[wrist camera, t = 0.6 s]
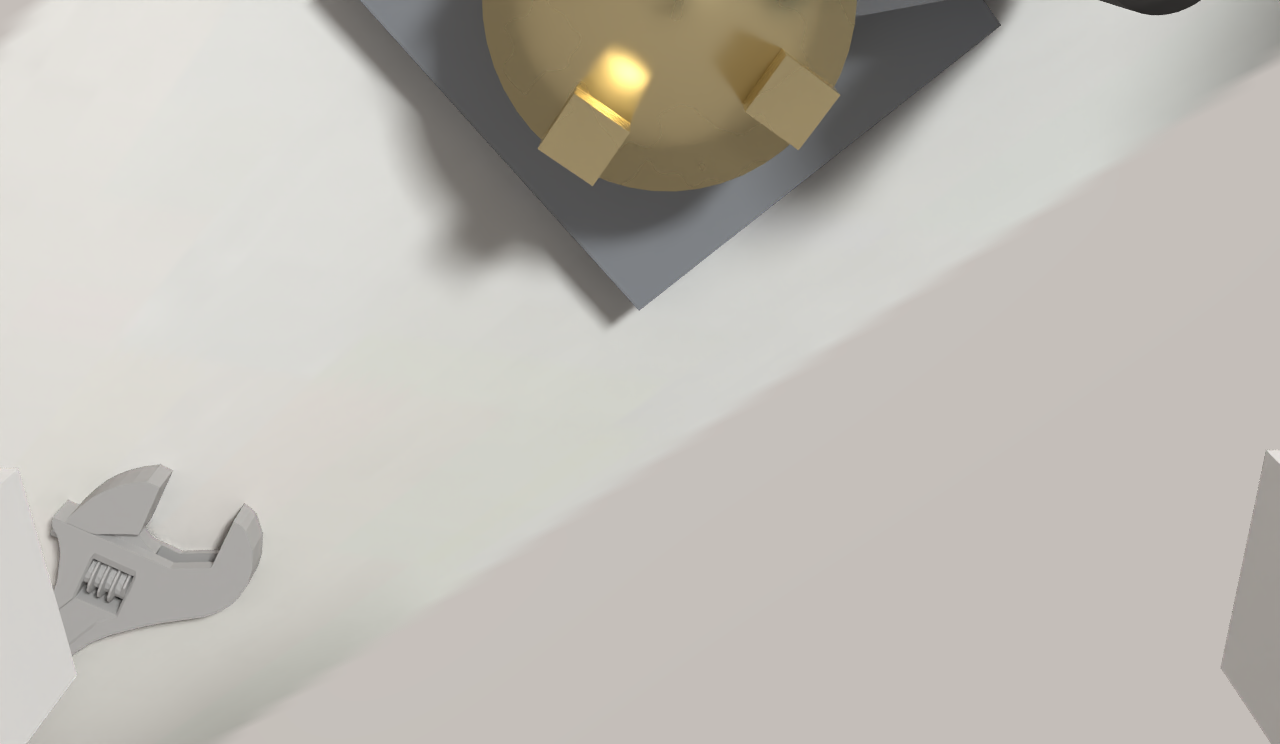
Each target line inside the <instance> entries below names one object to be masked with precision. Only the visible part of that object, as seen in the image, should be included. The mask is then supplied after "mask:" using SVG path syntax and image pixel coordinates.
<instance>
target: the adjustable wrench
mask: <svg viewBox="0 0 1280 744" xmlns="http://www.w3.org/2000/svg"><path fill="white" fill-rule="evenodd" d="M172 471H173V470H171V469H169V468H167V467H165V466H163V465H161V464H160V465H152V466H144V467H140V468H136V469H131V470H129V471H126V472H123V473H120V474H118V475H116V476H114V477H112V478H110V479H108V480H107V481H106V482H104V483H103V484H102V485H100V486H99V487H98V488H96V489H95V490H94V491H93V492H92V493H91V494H90V495H89V496H88V497H87V498H86V499H85V500H84V501H83V502H82V503H81V504H80V505H79V504H77V503H74V502H72V501H70V500H67V501H66V503H65V504H64V505H63V506H62V507H61V508H60V509H59V510H58V512H57V513H56V514H55V515H54V516H53V518H52V527H53V528H52V530H51V533H50V535H52V536H54V537H56V538H58V542H59V547H60V560H59V568H58V577H57V582H56V585H55V588H54V594H55V598H56V601H57V605H58V608H59V612H60V615H61V619H62V622H63V626H64V629H65V633H66V636H67V640H68V644H69V647H70V651H71V654H72V655H73V654H75V653H76V652H77V651H79V650H80V649H82V648H84V647H85V646H87V645H89V644H90V643H92V642H94V641H97V640H99V639H102V638H105V637H107V636H110V635H113V634H117V633H121V632H125V631H129V630H133V629H136V628H140V627H145V626H150V625H155V624H160V623H167V622H174V621H181V620H187V619H194V618H201V617H206V616H209V615H212V614H215V613H217V612H219V611H221V610H223V609H225V608H227V607H228V606H230V605H231V604H233V603H234V602H235V601H236V600H237V599H238V598H239V597H240V595H241V594H242V592H243V591H244V589H245V588H246V586H247V585H248V583H249V582H250V580H251V578H252V576H253V574H254V572H255V571H256V569H257V567H258V564H259V561H260V558H261V554H262V540H263V532H262V529H261V526H260V523H259V520H258V517H257V514H256V512H255V511H254V510H253V509H252V508H251V507H249V506H248V505H246V504H244V505H243V507H242V508H241V510H240V512H239V513H238V515H237V517H236V518H235V520H234V521H233V524H232V526H231V528H230V530H229V532H228V534H227V536H226V538H225V540H224V542H223V544H222V546H221V548H220V550H192V551H182V550H180V549H177V548H175V547H173V546H171V545H169V544H167V543H165V542H163V541H160V540H158V539H156V538H154V537H153V536H152V535H151V534H150V532H149V531H148V529H147V528H146V527H145V526H146V525H147V523H148V522H149V521H150V519H151V518H152V516H153V514H154V512H155V509H156V507H157V505H158V503H159V500H160V498H161V496H162V494H163V491H164V489H165V487H166V485H167V483H168V480H169V478H170V476H171V474H172Z"/></svg>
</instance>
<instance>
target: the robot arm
mask: <svg viewBox="0 0 1280 744" xmlns="http://www.w3.org/2000/svg"><path fill="white" fill-rule="evenodd" d="M1221 669H1222V671H1223V672H1224V674H1225V675H1226V676H1227V678H1228V679H1229V681H1230V683H1231V684H1232V686H1233V687H1234V689H1235V690H1236V691H1237V693H1238V695H1239V696H1240V698H1241V699H1242V701H1243V702H1244V704H1245V705H1246V706H1247V708H1248V710H1249V711H1250V713H1251V714H1252V716H1253V717H1254V719H1255V720H1256V722H1257V723H1258V725H1259V726H1260V728H1261V729H1262V731H1263V732H1264V734H1265V735H1266V737H1267V738H1268V740H1269V741H1270V743H1271V744H1280V450H1266V453H1265V457H1264V462H1263V467H1262V472H1261V477H1260V481H1259V487H1258V491H1257V496H1256V501H1255V505H1254V510H1253V515H1252V520H1251V524H1250V529H1249V534H1248V539H1247V544H1246V548H1245V553H1244V559H1243V563H1242V568H1241V573H1240V577H1239V582H1238V587H1237V592H1236V597H1235V602H1234V607H1233V611H1232V616H1231V620H1230V625H1229V630H1228V635H1227V640H1226V645H1225V649H1224V654H1223V659H1222V664H1221ZM76 676H77V672H76V668H75V665H74V661H73V658H72V654H71V651H70V647H69V644H68V640H67V636H66V633H65V629H64V626H63V622H62V619H61V615H60V612H59V608H58V605H57V601H56V598H55V594H54V591H53V587H52V584H51V580H50V577H49V573H48V570H47V566H46V563H45V559H44V556H43V552H42V549H41V545H40V541H39V538H38V534H37V531H36V527H35V524H34V520H33V517H32V513H31V510H30V506H29V503H28V499H27V496H26V492H25V489H24V485H23V482H22V478H21V475H20V471H19V468H0V744H27V742H28V741H29V740H30V738H31V737H32V736H33V734H34V733H35V732H36V730H37V729H38V728H39V726H40V725H41V723H42V722H43V721H44V719H45V718H46V717H47V715H48V714H49V713H50V711H51V710H52V709H53V707H54V706H55V705H56V703H57V702H58V700H59V699H60V698H61V696H62V695H63V694H64V692H65V691H66V690H67V688H68V687H69V686H70V684H71V683H72V681H73V680H74V679H75V677H76Z"/></svg>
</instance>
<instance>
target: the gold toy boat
mask: <svg viewBox="0 0 1280 744" xmlns="http://www.w3.org/2000/svg"><path fill="white" fill-rule="evenodd" d="M939 1H944V0H482V9H483V22H484V28H485V34H486V41H487V45H488V48H489V52H490V55H491V59H492V62H493V65H494V68H495V70H496V73H497V75H498V77H499V80H500V82H501V84H502V86H503V89H504V91H505V92H506V94H507V96H508V97H509V99H510V101H511V102H512V104H513V106H514V107H515V109H516V111H517V112H518V113H519V115H520V116H521V117H522V118H523V120H524V121H525V122H526V124H527V125H528V126H529V127H530V129H531V130H532V131H533V132H534V133H535V134H536V135H537V136H538V137H539V138H540V139H541V141H540V144H539V146H538V150H540V151H541V152H543V153H544V154H546V155H547V156H549V157H550V158H552V159H553V160H554V161H556V162H557V163H559V164H560V165H562V166H563V167H565V168H566V169H568V170H569V171H571V172H572V173H574V174H575V175H577V176H578V177H580V178H581V179H583V180H584V181H586V182H587V183H589V184H590V185H591V186H593V185H594V184H595V182H596V181H597V180H598V178H601V179H603V180H606V181H608V182H612V183H615V184H619V185H623V186H626V187H630V188H636V189H643V190H649V191H684V190H693V189H700V188H704V187H709V186H713V185H717V184H721V183H724V182H726V181H729V180H732V179H734V178H737V177H740V176H742V175H744V174H746V173H748V172H750V171H752V170H754V169H756V168H757V167H759V166H761V165H763V164H765V163H766V162H767V161H769V160H770V159H772V158H773V157H775V156H776V155H777V154H779V153H780V152H782V151H783V150H784V149H785V148H786V147H787V146H789V145H792V146H793V147H795V148H796V149H797V150H799V149H800V148H801V147H802V145H803V144H804V143H805V141H806V140H807V139H808V137H809V136H810V135H811V133H812V132H813V131H814V129H815V128H816V127H817V126H818V124H819V123H820V122H821V120H822V119H823V118H824V116H825V115H826V114H827V112H828V111H829V110H830V108H831V107H832V106H833V104H834V103H835V102H836V100H837V99H838V98H839V96H840V94H839V93H838V91H837V90H836V89H835V88H834V86H835V84H836V82H837V80H838V78H839V76H840V74H841V72H842V69H843V66H844V63H845V61H846V58H847V55H848V52H849V49H850V44H851V40H852V35H853V30H854V26H855V17H856V16H862V15H867V14H873V13H878V12H884V11H889V10H895V9H900V8H906V7H911V6H917V5H922V4H928V3H933V2H939ZM1100 1H1103V2H1106V3H1110V4H1113V5H1116V6H1119V7H1123V8H1126V9H1129V10H1132V11H1136V12H1139V13H1142V14H1148V15H1165V14H1171V13H1175V12H1179V11H1181V10H1184V9H1186V8H1188V7H1190V6H1192V5H1194V4H1196V3H1197V2H1199V1H1200V0H1100Z"/></svg>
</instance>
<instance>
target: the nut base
mask: <svg viewBox="0 0 1280 744" xmlns="http://www.w3.org/2000/svg"><path fill="white" fill-rule="evenodd" d="M360 1H361V2H362V3H363V4H364V5H365V6H366V8H367V9H368V10H369V11H370V12H371V13H372V14H373V15H374V17H375V18H376V19H377V20H378V21H379V22H380V23H381V24H382V25H383V27H384V28H385V29H386V30H387V31H388V32H389V33H390V34H391V35H392V37H393V38H394V39H395V40H396V41H397V42H398V43H399V44H400V45H401V47H402V48H403V49H404V50H405V51H406V52H407V53H408V54H409V55H410V57H411V58H412V59H413V60H414V61H415V62H416V63H417V64H418V65H419V67H420V68H421V69H422V70H423V71H424V72H425V73H426V74H427V75H428V77H429V78H430V79H431V80H432V81H433V82H434V83H435V84H436V85H437V87H438V88H439V89H440V90H441V91H442V92H443V93H444V94H445V95H446V97H447V98H448V99H449V100H450V101H451V102H452V103H453V104H454V105H455V107H456V108H457V109H458V110H459V111H460V112H461V113H462V114H463V115H464V117H465V118H466V119H467V120H468V121H469V122H470V123H471V124H472V125H473V127H474V128H475V129H476V130H477V131H478V132H479V133H480V134H481V135H482V137H483V138H484V139H485V140H486V141H487V142H488V143H489V144H490V145H491V147H492V148H493V149H494V150H495V151H496V152H497V153H498V154H499V155H500V157H501V158H502V159H503V160H504V161H505V162H506V163H507V164H508V165H509V167H510V168H511V169H512V170H513V171H514V172H515V173H516V174H517V175H518V177H519V178H520V179H521V180H522V181H523V182H524V183H525V184H526V185H527V187H528V188H529V189H530V190H531V191H532V192H533V193H534V194H535V195H536V197H537V198H538V199H539V200H540V201H541V202H542V203H543V204H544V205H545V207H546V208H547V209H548V210H549V211H550V212H551V213H552V214H553V215H554V217H555V218H556V219H557V220H558V221H559V222H560V223H561V224H562V225H563V227H564V228H565V229H566V230H567V231H568V232H569V233H570V234H571V235H572V237H573V238H574V239H575V240H576V241H577V242H578V243H579V244H580V245H581V247H582V248H583V249H584V250H585V251H586V252H587V253H588V254H589V255H590V257H591V258H592V259H593V260H594V261H595V262H596V263H597V264H598V265H599V267H600V268H601V269H602V270H603V271H604V272H605V273H606V274H607V275H608V277H609V278H610V279H611V280H612V281H613V282H614V283H615V284H616V285H617V287H618V288H619V289H620V290H621V291H622V292H623V293H624V294H625V295H626V297H627V298H628V299H629V300H630V301H631V302H632V303H633V304H634V305H635V307H636V308H637V309H638V310H640V309H642V308H643V307H644V306H646V305H647V304H648V303H649V302H651V301H652V300H653V299H654V298H656V297H657V296H658V295H660V294H661V293H662V292H663V291H665V290H666V289H667V288H668V287H670V286H671V285H672V284H673V283H675V282H676V281H677V280H679V279H680V278H681V277H682V276H684V275H685V274H686V273H687V272H689V271H690V270H691V269H692V268H694V267H695V266H696V265H698V264H699V263H700V262H701V261H703V260H704V259H705V258H706V257H708V256H709V255H710V254H712V253H713V252H714V251H715V250H717V249H718V248H719V247H720V246H722V245H723V244H724V243H725V242H727V241H728V240H729V239H731V238H732V237H733V236H734V235H736V234H737V233H738V232H739V231H741V230H742V229H743V228H744V227H746V226H747V225H748V224H750V223H751V222H752V221H753V220H755V219H756V218H757V217H758V216H760V215H761V214H762V213H764V212H765V211H766V210H767V209H769V208H770V207H771V206H772V205H774V204H775V203H776V202H777V201H779V200H780V199H781V198H783V197H784V196H785V195H786V194H788V193H789V192H790V191H791V190H793V189H794V188H795V187H796V186H798V185H799V184H800V183H802V182H803V181H804V180H805V179H807V178H808V177H809V176H810V175H812V174H813V173H814V172H815V171H817V170H818V169H819V168H821V167H822V166H823V165H824V164H826V163H827V162H828V161H829V160H831V159H832V158H833V157H835V156H836V155H837V154H838V153H840V152H841V151H842V150H843V149H845V148H846V147H847V146H848V145H850V144H851V143H852V142H854V141H855V140H856V139H857V138H859V137H860V136H861V135H862V134H864V133H865V132H866V131H867V130H869V129H870V128H871V127H873V126H874V125H875V124H876V123H878V122H879V121H880V120H881V119H883V118H884V117H885V116H887V115H888V114H889V113H890V112H892V111H893V110H894V109H895V108H897V107H898V106H899V105H900V104H902V103H903V102H904V101H906V100H907V99H908V98H909V97H911V96H912V95H913V94H914V93H916V92H917V91H918V90H919V89H921V88H922V87H923V86H925V85H926V84H927V83H928V82H930V81H931V80H932V79H933V78H935V77H936V76H937V75H939V74H940V73H941V72H942V71H944V70H945V69H946V68H947V67H949V66H950V65H951V64H952V63H954V62H955V61H956V60H958V59H959V58H960V57H961V56H963V55H964V54H965V53H966V52H968V51H969V50H970V49H971V48H973V47H974V46H975V45H977V44H978V43H979V42H980V41H982V40H983V39H984V38H985V37H987V36H988V35H989V34H991V33H992V32H993V31H994V30H996V29H997V28H998V27H999V26H1001V24H1000V23H999V22H998V20H997V19H996V17H995V16H994V14H993V13H992V12H991V10H990V9H989V7H988V6H987V4H986V3H985V1H984V0H944V1H939V2H933V3H928V4H922V5H917V6H911V7H906V8H900V9H895V10H889V11H884V12H878V13H873V14H867V15H862V16H856V17H855V26H854V30H853V35H852V40H851V44H850V49H849V52H848V55H847V58H846V61H845V63H844V66H843V69H842V72H841V74H840V76H839V78H838V80H837V82H836V84H835V86H834V88H835V89H836V90H837V91H838V93H839V94H840V96H839V98H838V99H837V100H836V102H835V103H834V104H833V106H832V107H831V108H830V110H829V111H828V112H827V114H826V115H825V116H824V118H823V119H822V120H821V122H820V123H819V124H818V126H817V127H816V128H815V129H814V131H813V132H812V133H811V135H810V136H809V137H808V139H807V140H806V141H805V143H804V144H803V145H802V147H801V148H800V149H799V150H797V149H796V148H795V147H793V146H792V145H789V146H787V147H786V148H785V149H784V150H783V151H782V152H780V153H779V154H777V155H776V156H775V157H773V158H772V159H770V160H769V161H767V162H766V163H765V164H763V165H761V166H759V167H757V168H756V169H754V170H752V171H750V172H748V173H746V174H744V175H742V176H740V177H737V178H734V179H732V180H729V181H726V182H724V183H721V184H717V185H713V186H709V187H704V188H700V189H693V190H684V191H649V190H643V189H636V188H630V187H626V186H623V185H619V184H615V183H612V182H608V181H606V180H603V179H601V178H598V180H597V181H596V182H595V184H594V185H593V186H591V185H590V184H589V183H587V182H586V181H584V180H583V179H581V178H580V177H578V176H577V175H575V174H574V173H572V172H571V171H569V170H568V169H566V168H565V167H563V166H562V165H560V164H559V163H557V162H556V161H554V160H553V159H552V158H550V157H549V156H547V155H546V154H544V153H543V152H541V151H540V150H538V146H539V144H540V141H541V139H540V138H539V137H538V136H537V135H536V134H535V133H534V132H533V131H532V130H531V129H530V127H529V126H528V125H527V124H526V122H525V121H524V120H523V118H522V117H521V116H520V115H519V113H518V112H517V111H516V109H515V107H514V106H513V104H512V102H511V101H510V99H509V97H508V96H507V94H506V92H505V91H504V89H503V86H502V84H501V82H500V80H499V77H498V75H497V73H496V70H495V68H494V65H493V62H492V59H491V55H490V52H489V48H488V45H487V41H486V34H485V28H484V22H483V9H482V0H360Z"/></svg>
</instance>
